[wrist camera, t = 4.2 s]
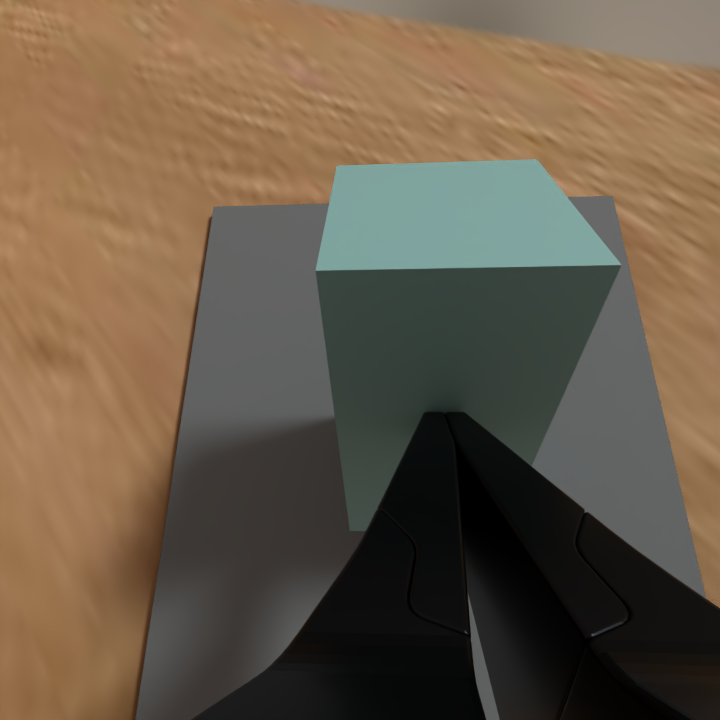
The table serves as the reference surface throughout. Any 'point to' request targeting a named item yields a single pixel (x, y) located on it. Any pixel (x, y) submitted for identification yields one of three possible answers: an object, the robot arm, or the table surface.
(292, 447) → the rubber mat
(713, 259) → the table surface
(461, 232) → the teal block
